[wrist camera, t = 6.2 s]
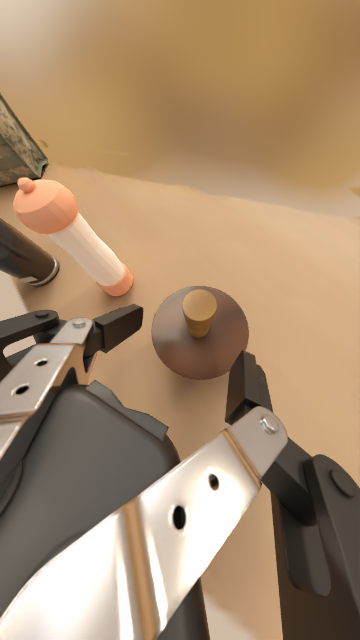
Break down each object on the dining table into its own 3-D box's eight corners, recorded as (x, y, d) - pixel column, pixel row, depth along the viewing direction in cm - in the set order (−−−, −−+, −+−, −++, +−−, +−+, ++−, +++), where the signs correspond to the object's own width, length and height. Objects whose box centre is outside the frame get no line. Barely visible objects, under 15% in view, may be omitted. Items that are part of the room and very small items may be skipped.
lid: (141, 313, 20) (107, 281, 12) (213, 277, 21) (223, 225, 13) (177, 397, 16) (160, 428, 8) (266, 349, 16) (327, 336, 9)
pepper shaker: (100, 294, 32) (-25, 203, 14) (110, 269, 34) (13, 162, 16) (128, 297, 31) (31, 201, 13) (136, 271, 33) (63, 157, 15)
